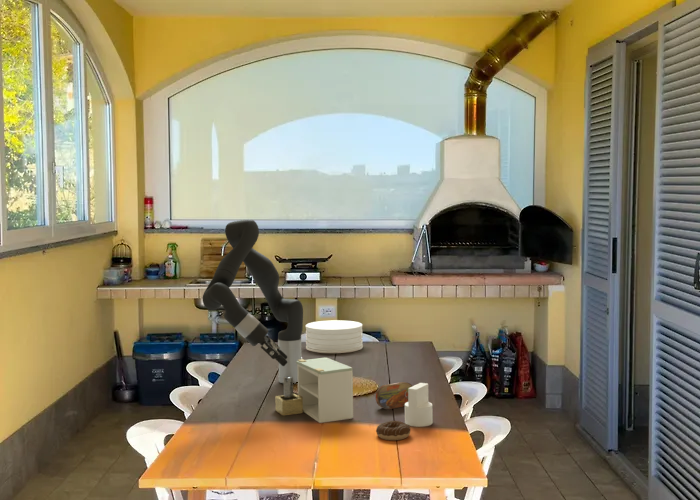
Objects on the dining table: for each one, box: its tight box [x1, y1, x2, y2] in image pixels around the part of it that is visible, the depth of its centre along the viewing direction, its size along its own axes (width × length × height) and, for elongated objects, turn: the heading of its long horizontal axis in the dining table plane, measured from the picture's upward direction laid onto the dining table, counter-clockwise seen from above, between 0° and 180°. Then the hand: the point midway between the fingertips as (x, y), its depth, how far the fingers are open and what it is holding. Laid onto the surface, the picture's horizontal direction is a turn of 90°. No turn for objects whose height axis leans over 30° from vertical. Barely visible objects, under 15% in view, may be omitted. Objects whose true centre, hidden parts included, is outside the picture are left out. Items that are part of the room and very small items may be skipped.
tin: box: [375, 381, 413, 410], centre depth 264 cm, size 15×3×8 cm, turn 117°
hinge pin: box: [283, 376, 294, 400], centre depth 260 cm, size 3×3×12 cm
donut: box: [375, 420, 411, 441], centre depth 232 cm, size 11×11×4 cm
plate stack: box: [305, 319, 364, 354], centre depth 373 cm, size 28×28×12 cm
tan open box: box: [274, 393, 303, 416], centre depth 260 cm, size 8×7×5 cm
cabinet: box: [296, 356, 354, 424], centre depth 257 cm, size 13×20×17 cm, turn 25°
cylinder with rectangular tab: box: [404, 382, 434, 428], centre depth 245 cm, size 9×9×12 cm
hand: (285, 361), depth 259 cm, fingers open, 8 cm apart
